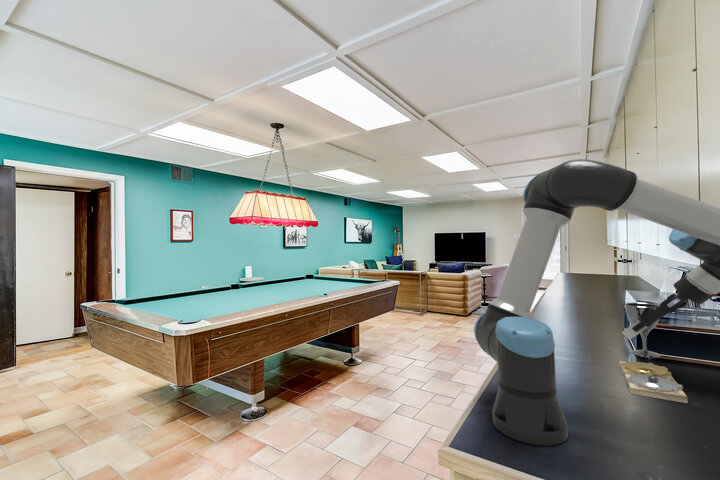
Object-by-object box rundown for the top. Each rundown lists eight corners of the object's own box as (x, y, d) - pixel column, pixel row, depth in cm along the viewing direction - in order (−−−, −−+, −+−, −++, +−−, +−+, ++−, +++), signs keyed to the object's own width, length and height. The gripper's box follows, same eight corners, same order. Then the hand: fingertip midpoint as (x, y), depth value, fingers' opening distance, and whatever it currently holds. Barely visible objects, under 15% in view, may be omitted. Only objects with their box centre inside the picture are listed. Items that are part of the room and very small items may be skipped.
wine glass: (648, 349, 103) (645, 302, 103) (670, 357, 95) (666, 306, 95) (622, 349, 104) (619, 302, 104) (641, 358, 96) (637, 307, 96)
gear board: (689, 403, 81) (688, 389, 81) (629, 393, 87) (628, 380, 87) (666, 371, 101) (665, 360, 101) (619, 365, 107) (618, 355, 107)
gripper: (708, 300, 82) (631, 350, 94) (719, 291, 94) (649, 337, 106) (677, 278, 86) (607, 329, 98) (691, 273, 98) (628, 318, 111)
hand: (629, 333), depth 102 cm, fingers closed on wine glass, 7 cm apart
